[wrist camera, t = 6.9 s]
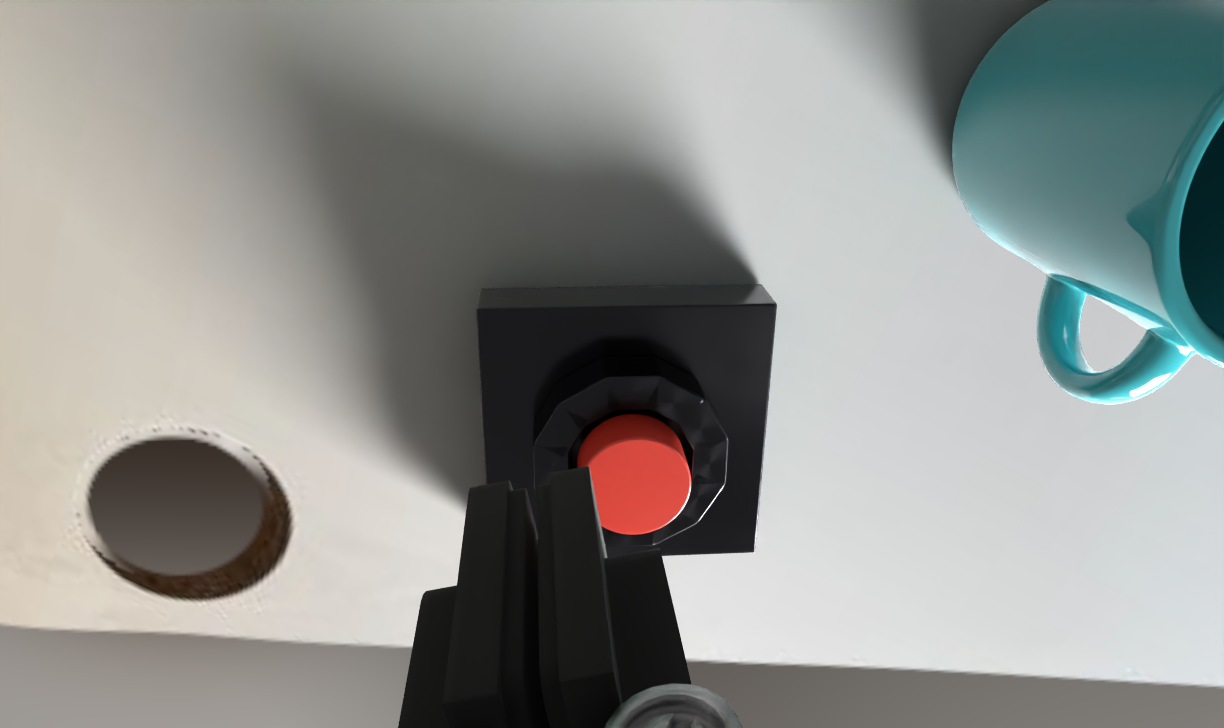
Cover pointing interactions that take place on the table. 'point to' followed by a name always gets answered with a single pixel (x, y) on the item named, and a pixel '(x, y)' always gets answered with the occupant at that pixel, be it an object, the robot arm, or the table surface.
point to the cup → (1106, 177)
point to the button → (636, 473)
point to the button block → (633, 393)
